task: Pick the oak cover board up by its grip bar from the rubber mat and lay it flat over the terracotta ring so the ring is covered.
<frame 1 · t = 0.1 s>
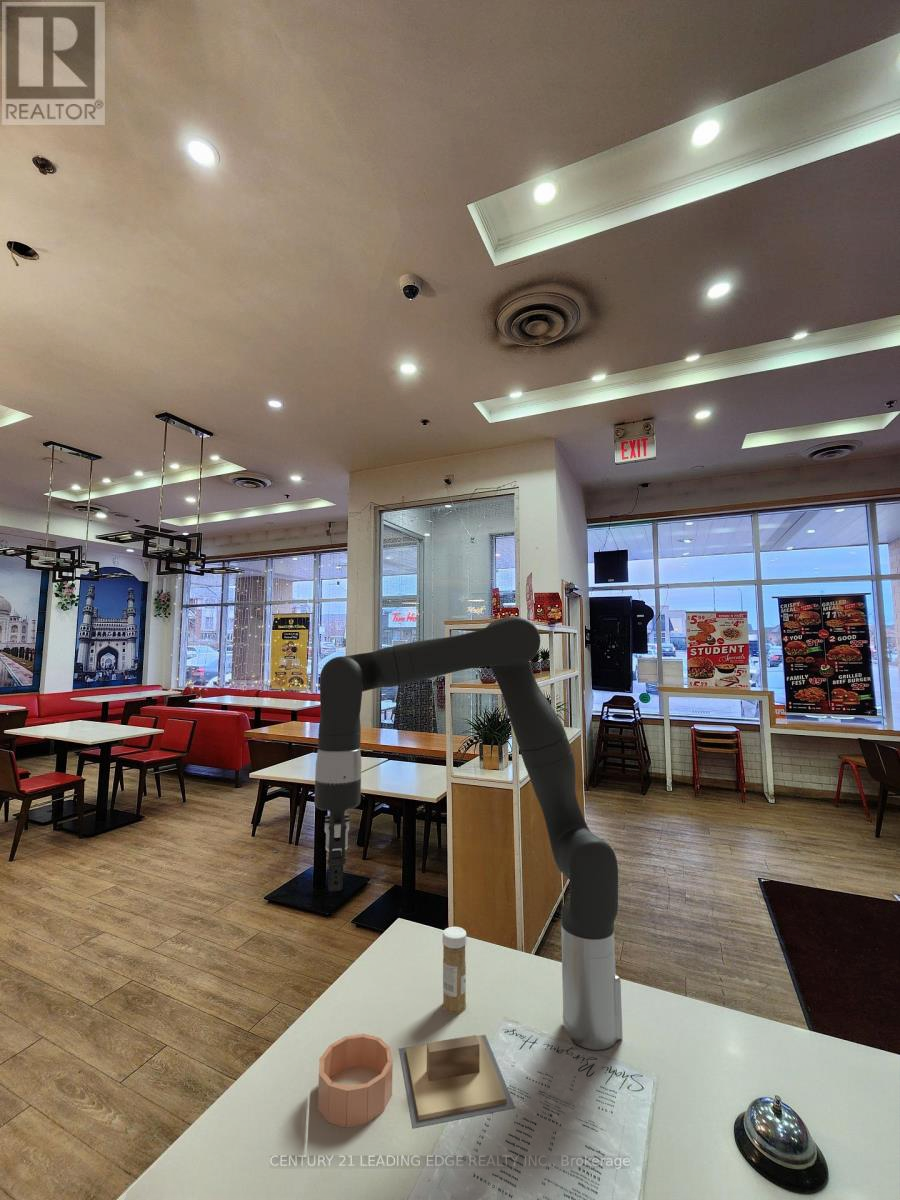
hand: (335, 878, 83), 29 cm above the counter, tool pointing down, fingers open, 8 cm apart
cover board: (453, 1076, 79), resting on rubber mat
rubber mat: (453, 1079, 79), on the counter
sprinkles bottle: (454, 1009, 95), on the counter
terracotta ring: (355, 1097, 76), on the counter
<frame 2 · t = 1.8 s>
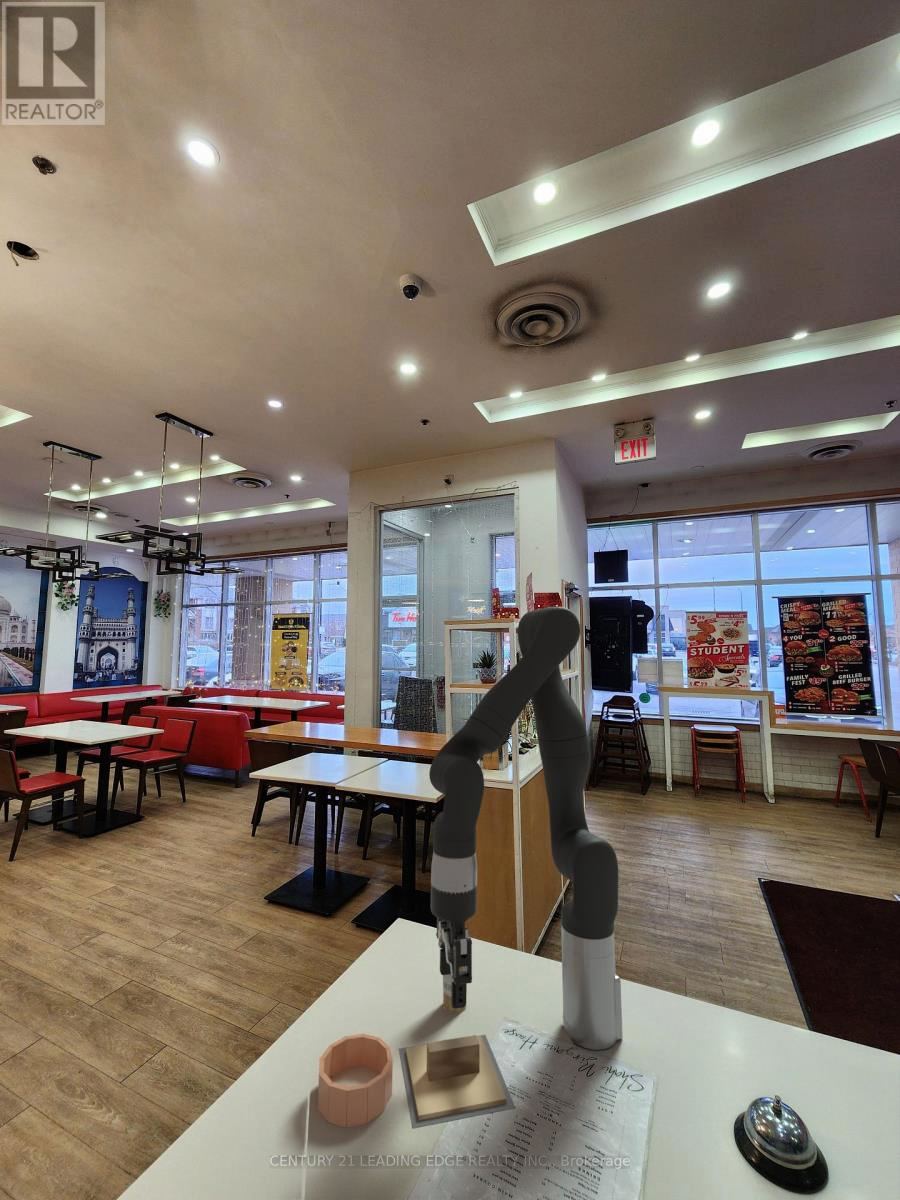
hand: (452, 989, 81), 13 cm above the counter, tool pointing down, fingers open, 8 cm apart
nothing on the counter moved.
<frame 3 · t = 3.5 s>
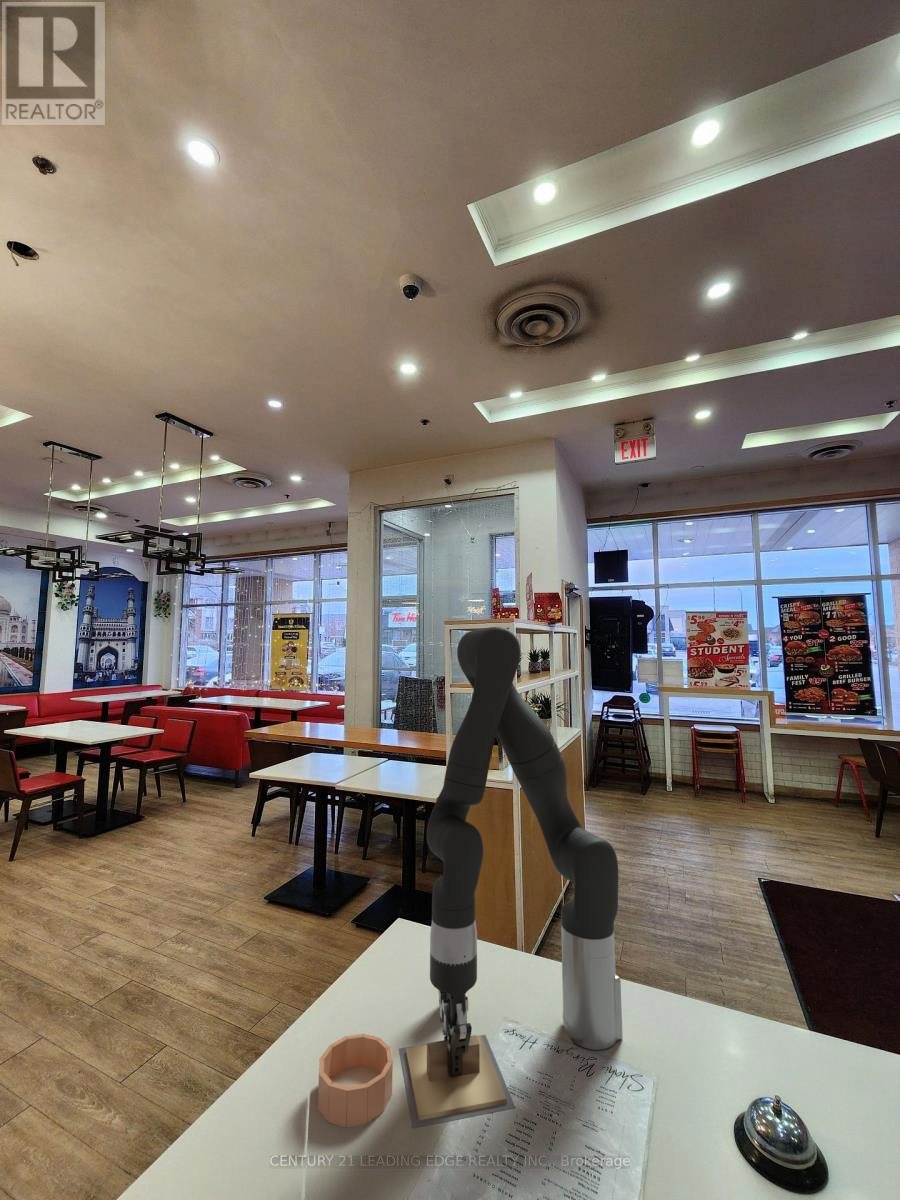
hand: (453, 1067, 79), 2 cm above the counter, tool pointing down, fingers closed on cover board
cover board: (453, 1076, 79), resting on rubber mat, touching gripper
everything else where it was.
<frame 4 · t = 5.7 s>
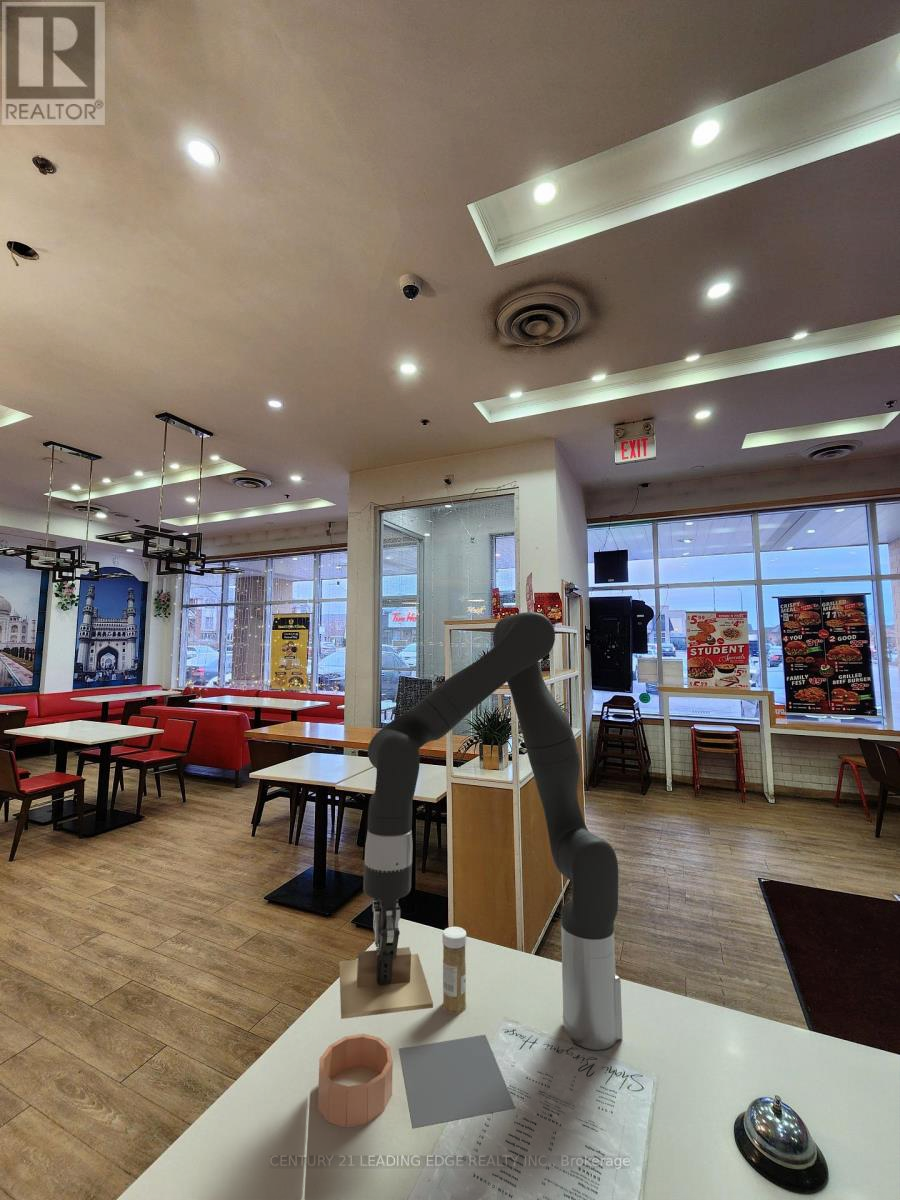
hand: (383, 977, 78), 16 cm above the counter, tool pointing down, fingers closed on cover board
cover board: (383, 985, 78), point 15 cm above the counter, touching gripper
everything else where it was.
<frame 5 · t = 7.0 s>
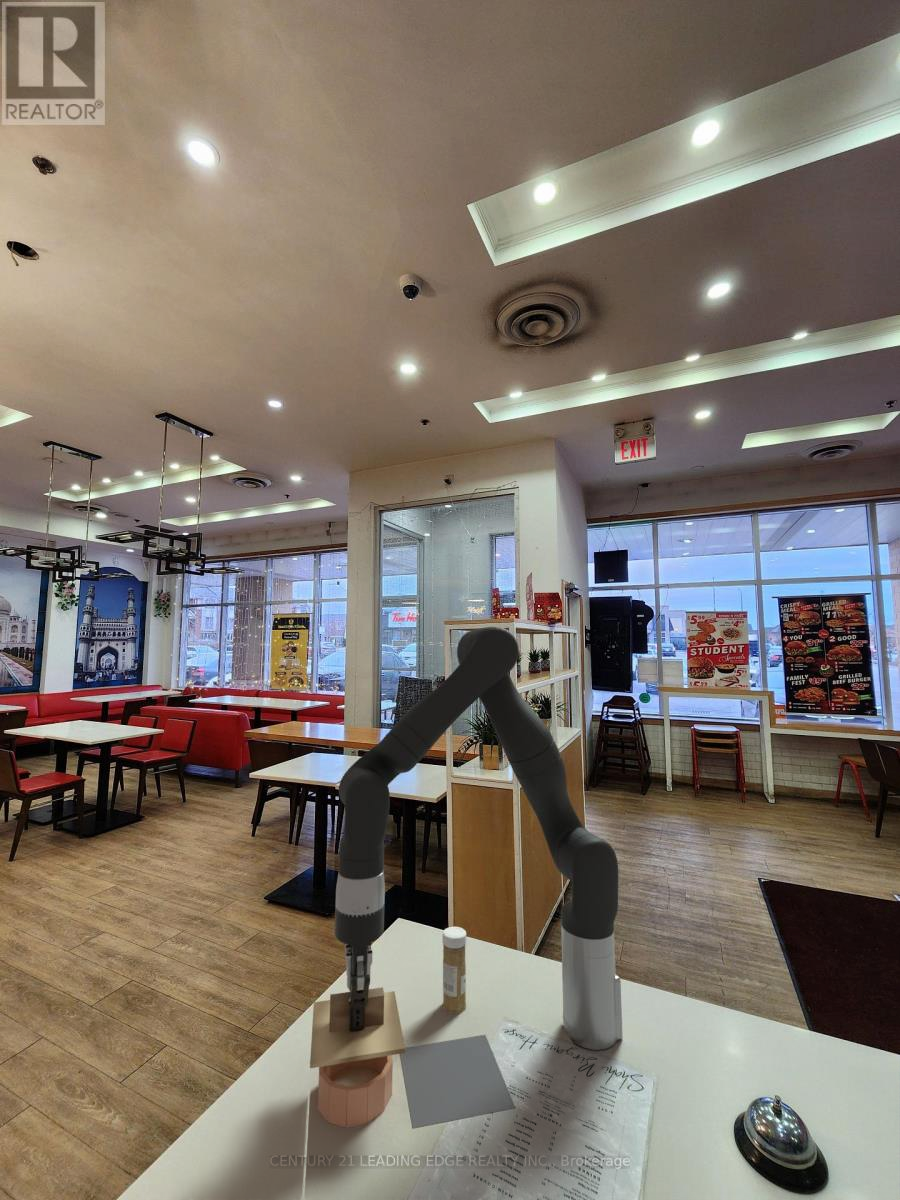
hand: (356, 1023, 77), 10 cm above the counter, tool pointing down, fingers closed on cover board
cover board: (356, 1028, 77), point 9 cm above the counter, touching gripper
everything else where it was.
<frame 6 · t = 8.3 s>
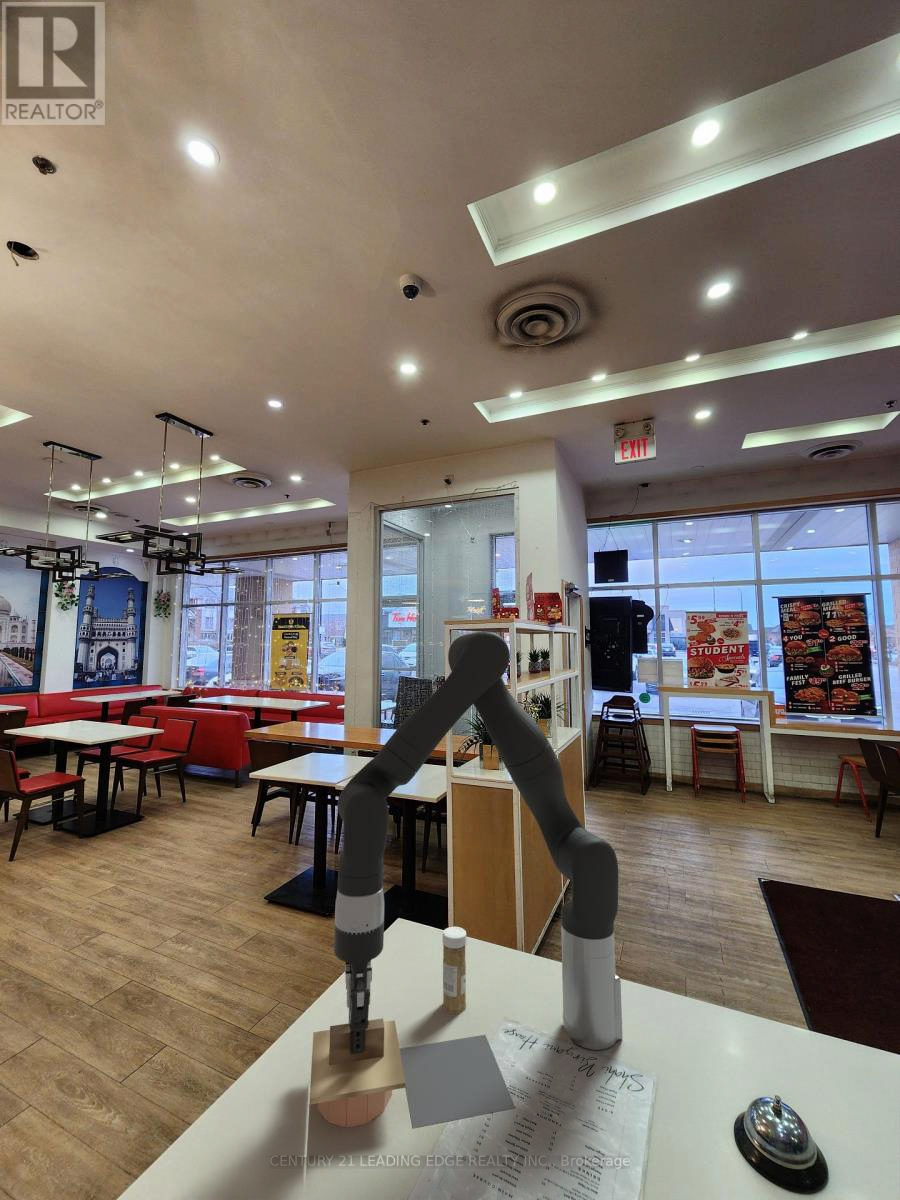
hand: (356, 1038, 77), 8 cm above the counter, tool pointing down, fingers open, 4 cm apart
cover board: (356, 1060, 76), point 5 cm above the counter, touching terracotta ring
everything else where it was.
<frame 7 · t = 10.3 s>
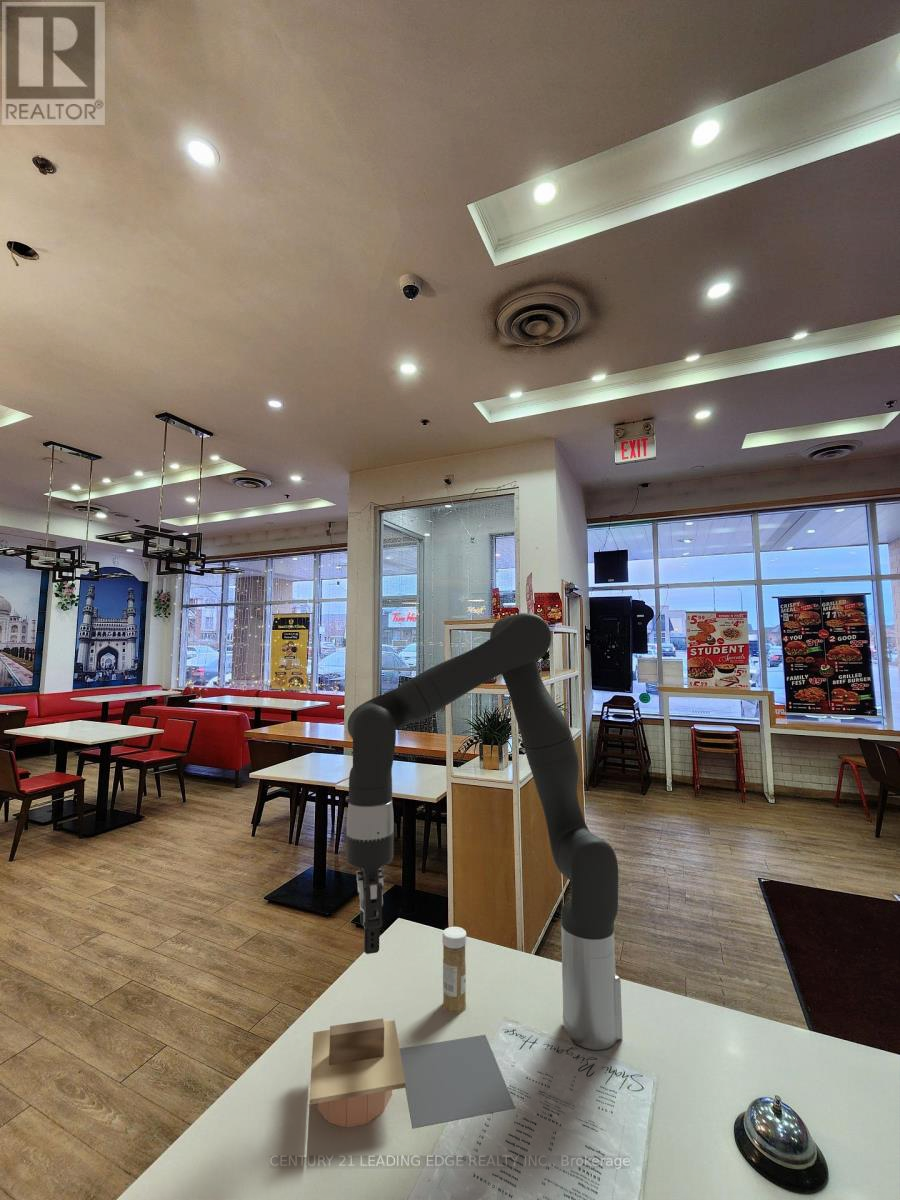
hand: (369, 937, 80), 21 cm above the counter, tool pointing down, fingers open, 8 cm apart
nothing on the counter moved.
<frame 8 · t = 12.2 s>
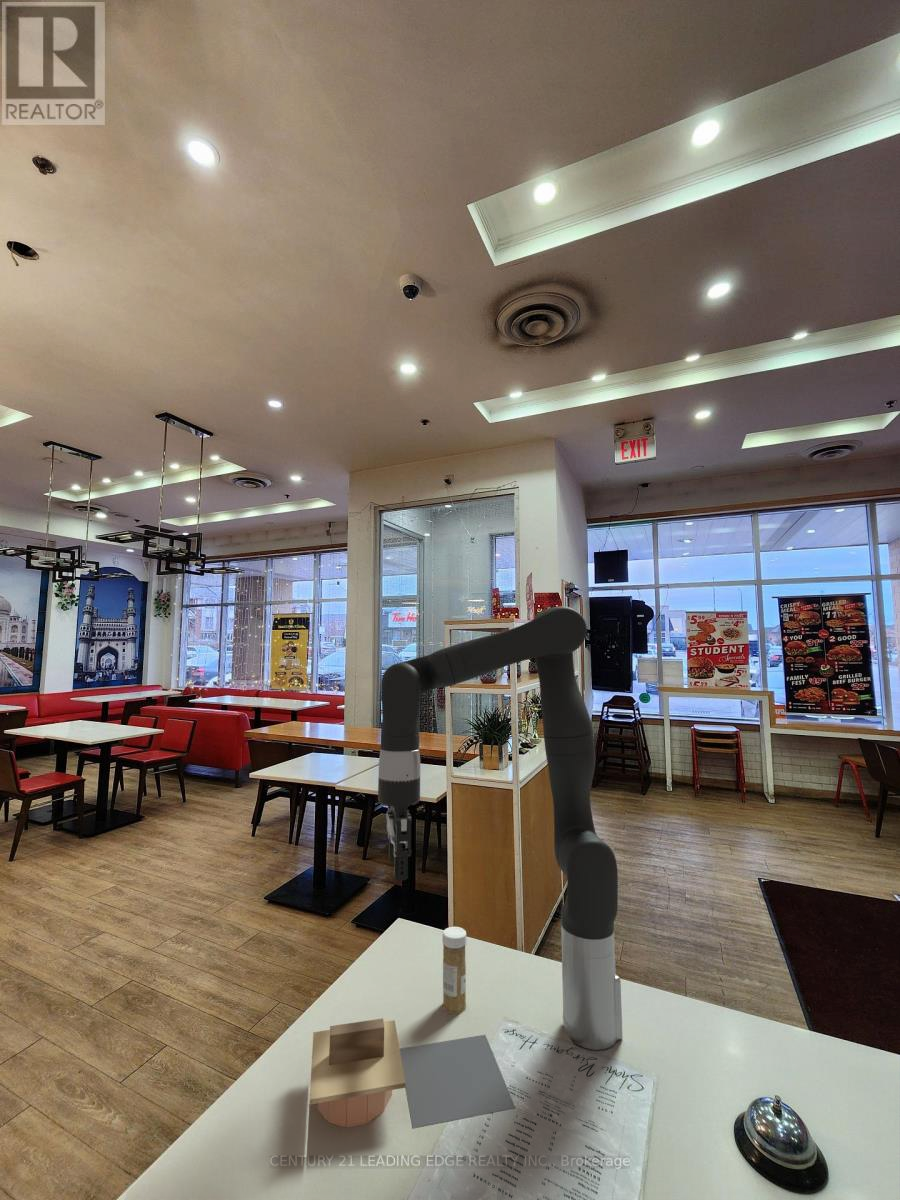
hand: (397, 869, 89), 28 cm above the counter, tool pointing down, fingers open, 8 cm apart
nothing on the counter moved.
at the end: cover board 0.1 cm off-centre on the terracotta ring, point 5.0 cm above the terracotta ring's base; cover board tilted 0°; the gripper is holding nothing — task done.
